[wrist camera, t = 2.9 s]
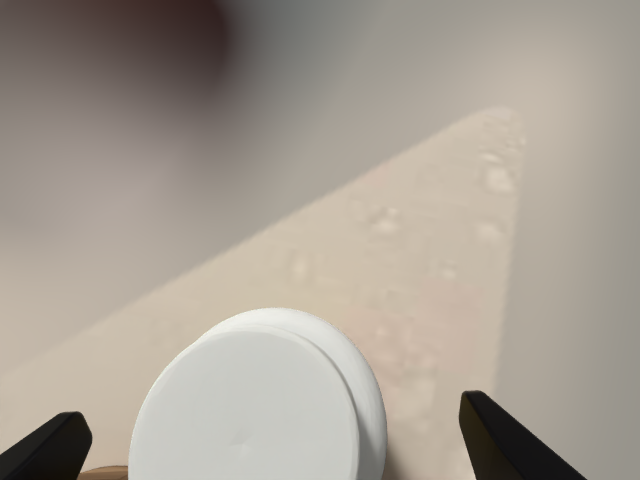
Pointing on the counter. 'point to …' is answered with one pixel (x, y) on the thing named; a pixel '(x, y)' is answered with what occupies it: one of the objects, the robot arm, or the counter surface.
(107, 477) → the walnut tray
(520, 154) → the counter surface
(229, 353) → the supplement bottle
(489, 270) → the counter surface
